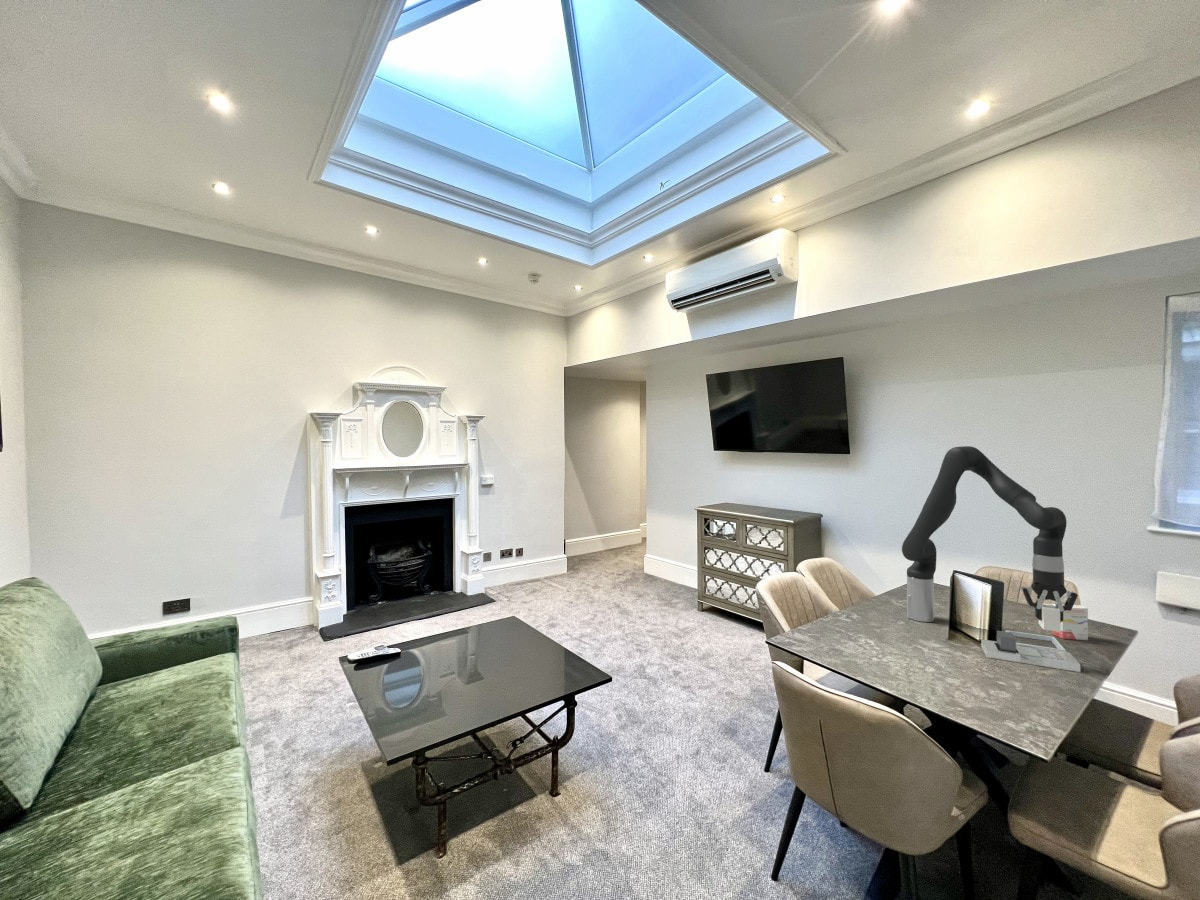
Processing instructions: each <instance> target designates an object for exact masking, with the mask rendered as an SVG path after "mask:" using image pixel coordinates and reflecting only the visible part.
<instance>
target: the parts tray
mask: <svg viewBox="0 0 1200 900" xmlns="http://www.w3.org/2000/svg"><path fill="white" fill-rule="evenodd" d="M1004 632H1011V633H1012V634H1013V635H1014V637H1019V638H1026V639H1033V640H1040V641H1047V642H1048V641H1049V642H1052V643H1053V645H1054V646H1055V647H1056V648H1054V647H1049V646H1042V645H1036V644H1035V645H1034V644H1028V643H1020V642H1016V645H1023V646H1030V647H1037V648H1044V649H1050V650H1057V651H1064V652H1067V649H1065V647H1063V644H1061V643H1060V642H1059V641H1058V640H1057V639H1056V638H1055V636H1053V635H1052V636H1051V635H1043V634H1036V633H1029V632H1021V631H1016V630H1015V631H1013V630H1007V629H1006V630H1004Z"/></svg>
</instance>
